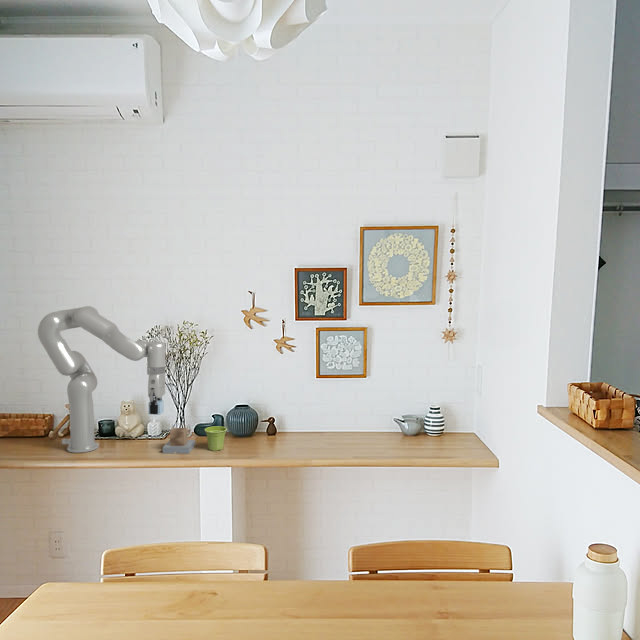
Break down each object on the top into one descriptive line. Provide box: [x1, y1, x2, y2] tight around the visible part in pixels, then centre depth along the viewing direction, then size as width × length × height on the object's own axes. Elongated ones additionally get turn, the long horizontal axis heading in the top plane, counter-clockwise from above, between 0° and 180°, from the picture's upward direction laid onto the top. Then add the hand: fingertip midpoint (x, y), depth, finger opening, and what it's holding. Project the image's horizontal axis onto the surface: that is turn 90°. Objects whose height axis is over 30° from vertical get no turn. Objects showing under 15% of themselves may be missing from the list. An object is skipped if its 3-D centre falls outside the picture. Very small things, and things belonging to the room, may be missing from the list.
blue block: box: [148, 400, 165, 416], centre depth 258 cm, size 5×5×5 cm
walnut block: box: [169, 427, 189, 446], centre depth 254 cm, size 6×6×6 cm
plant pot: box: [204, 425, 228, 452], centre depth 255 cm, size 9×9×9 cm
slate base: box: [162, 439, 196, 454], centre depth 254 cm, size 11×11×2 cm
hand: (155, 411), depth 258 cm, fingers closed on blue block, 5 cm apart
